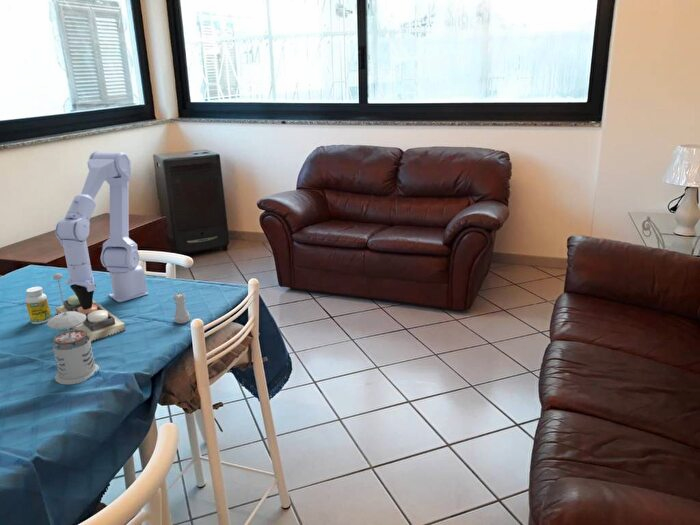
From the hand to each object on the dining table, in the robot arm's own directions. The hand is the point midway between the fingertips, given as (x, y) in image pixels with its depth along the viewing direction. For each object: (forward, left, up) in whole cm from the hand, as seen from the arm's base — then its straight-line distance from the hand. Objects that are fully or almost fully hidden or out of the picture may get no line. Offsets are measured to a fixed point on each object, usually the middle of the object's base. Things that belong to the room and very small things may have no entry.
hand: (87, 308), depth 160 cm
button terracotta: (0, 0, -2) cm, 2 cm away
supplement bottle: (+10, -11, -4) cm, 15 cm away
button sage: (0, -8, -1) cm, 8 cm away
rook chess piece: (-19, +18, -4) cm, 27 cm away
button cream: (0, +8, -1) cm, 8 cm away
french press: (+12, +26, -4) cm, 29 cm away
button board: (0, 0, -4) cm, 4 cm away
